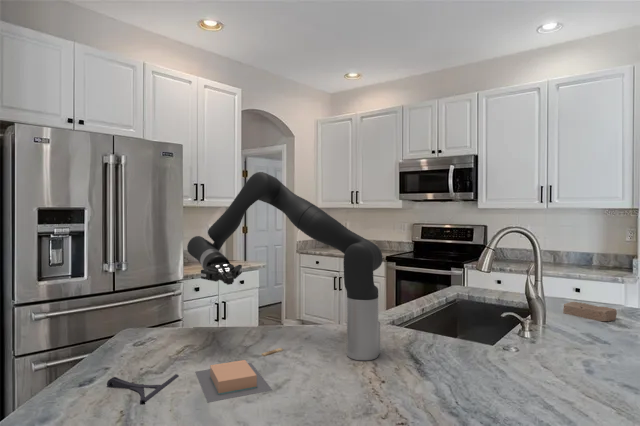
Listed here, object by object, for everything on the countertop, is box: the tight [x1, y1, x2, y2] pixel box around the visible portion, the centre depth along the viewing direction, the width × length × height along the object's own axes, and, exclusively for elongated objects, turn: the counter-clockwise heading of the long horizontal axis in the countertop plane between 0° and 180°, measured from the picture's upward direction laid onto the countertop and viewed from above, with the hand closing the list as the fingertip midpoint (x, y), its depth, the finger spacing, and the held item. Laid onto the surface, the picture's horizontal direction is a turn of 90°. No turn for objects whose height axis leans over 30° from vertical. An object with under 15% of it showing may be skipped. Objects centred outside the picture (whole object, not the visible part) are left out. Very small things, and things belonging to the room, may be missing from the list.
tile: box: [209, 359, 257, 395], centre depth 104 cm, size 9×3×11 cm
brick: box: [562, 301, 618, 322], centre depth 168 cm, size 16×8×5 cm, turn 30°
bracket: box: [106, 373, 180, 405], centre depth 102 cm, size 14×15×3 cm
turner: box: [261, 347, 284, 357], centre depth 123 cm, size 13×3×1 cm, turn 134°
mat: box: [195, 362, 273, 403], centre depth 105 cm, size 15×19×1 cm
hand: (230, 281), depth 119 cm, fingers closed
